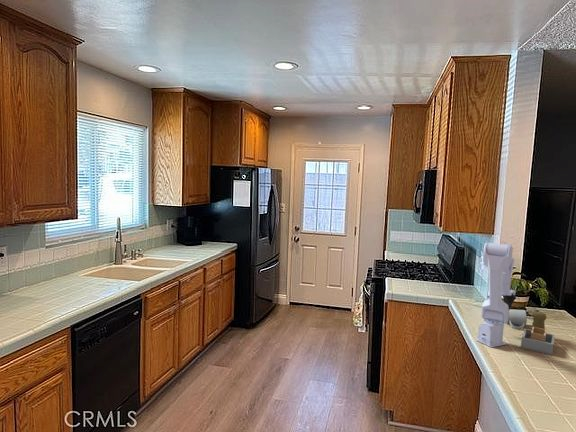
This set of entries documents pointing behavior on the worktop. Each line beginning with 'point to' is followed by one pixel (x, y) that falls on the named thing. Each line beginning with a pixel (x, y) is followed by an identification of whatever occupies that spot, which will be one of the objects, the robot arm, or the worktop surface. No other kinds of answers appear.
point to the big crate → (537, 343)
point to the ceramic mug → (517, 318)
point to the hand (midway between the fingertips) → (500, 311)
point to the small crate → (538, 334)
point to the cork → (539, 320)
